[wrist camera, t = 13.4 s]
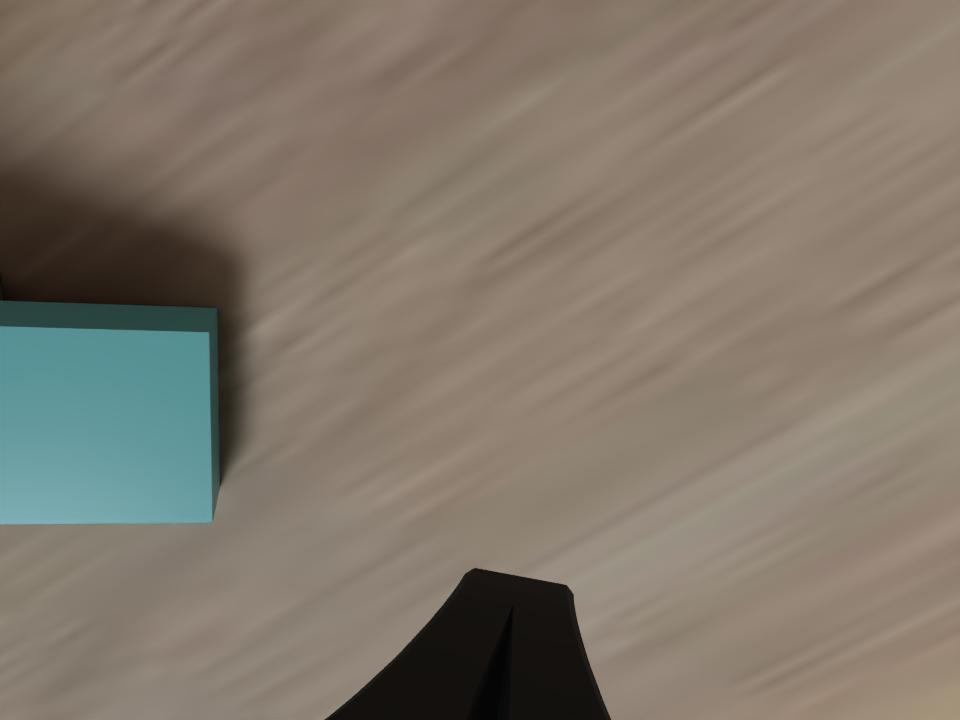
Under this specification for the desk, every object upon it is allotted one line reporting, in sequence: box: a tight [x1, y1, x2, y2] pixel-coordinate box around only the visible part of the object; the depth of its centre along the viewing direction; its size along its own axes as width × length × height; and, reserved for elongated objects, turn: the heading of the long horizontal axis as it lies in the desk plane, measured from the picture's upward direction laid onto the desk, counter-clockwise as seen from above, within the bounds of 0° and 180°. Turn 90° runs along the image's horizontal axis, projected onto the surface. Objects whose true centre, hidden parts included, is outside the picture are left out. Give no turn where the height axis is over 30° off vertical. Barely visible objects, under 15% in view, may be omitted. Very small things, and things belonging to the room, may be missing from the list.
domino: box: [0, 301, 220, 524], centre depth 22 cm, size 2×5×9 cm
